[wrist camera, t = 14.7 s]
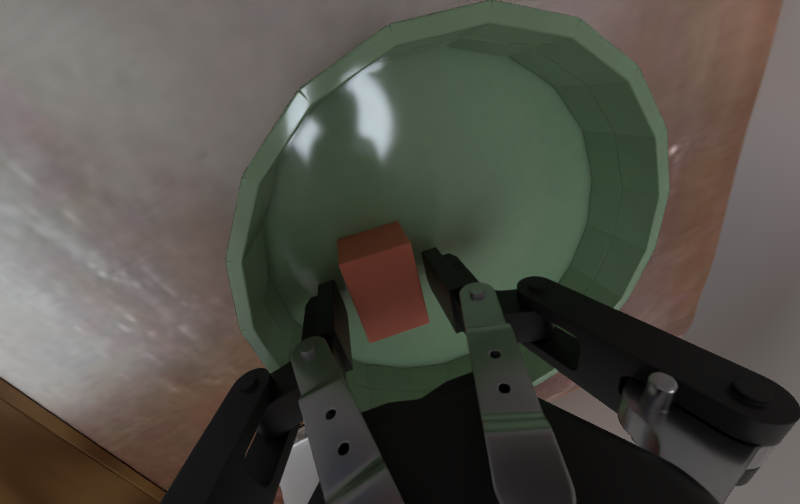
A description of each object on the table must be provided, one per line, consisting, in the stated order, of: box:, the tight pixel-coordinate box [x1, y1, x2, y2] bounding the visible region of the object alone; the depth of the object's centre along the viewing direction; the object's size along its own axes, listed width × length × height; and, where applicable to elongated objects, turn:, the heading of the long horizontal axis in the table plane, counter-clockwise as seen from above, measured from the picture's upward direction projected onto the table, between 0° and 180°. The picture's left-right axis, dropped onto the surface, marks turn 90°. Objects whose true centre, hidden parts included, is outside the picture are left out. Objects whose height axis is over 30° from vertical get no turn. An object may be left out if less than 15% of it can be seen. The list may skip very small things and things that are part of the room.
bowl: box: [225, 0, 670, 412], centre depth 13 cm, size 18×18×4 cm
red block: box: [337, 221, 429, 343], centre depth 13 cm, size 4×3×2 cm, turn 13°
